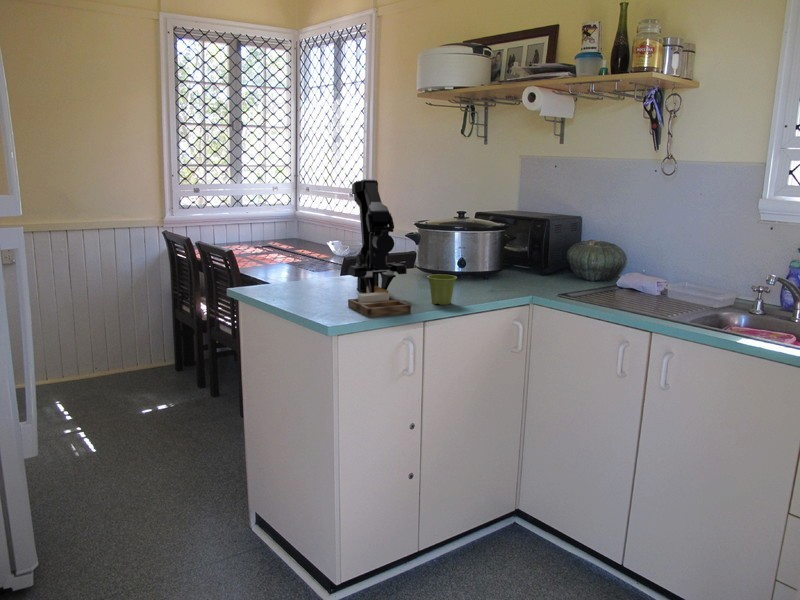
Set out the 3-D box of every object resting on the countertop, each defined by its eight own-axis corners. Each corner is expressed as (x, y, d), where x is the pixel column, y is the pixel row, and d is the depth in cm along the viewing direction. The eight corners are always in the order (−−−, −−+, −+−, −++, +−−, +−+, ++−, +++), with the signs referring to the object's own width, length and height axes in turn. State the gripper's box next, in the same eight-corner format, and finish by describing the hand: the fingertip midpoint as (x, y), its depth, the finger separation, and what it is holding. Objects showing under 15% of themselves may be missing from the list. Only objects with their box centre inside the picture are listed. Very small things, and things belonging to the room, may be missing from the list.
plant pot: (421, 301, 217) (422, 274, 215) (447, 299, 220) (448, 273, 219) (434, 307, 208) (435, 279, 207) (460, 305, 212) (462, 278, 210)
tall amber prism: (366, 297, 221) (366, 286, 220) (375, 296, 223) (376, 285, 222) (378, 302, 213) (378, 291, 212) (388, 301, 215) (388, 290, 214)
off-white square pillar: (362, 307, 202) (362, 296, 201) (357, 305, 205) (357, 293, 204) (388, 305, 206) (389, 294, 206) (383, 302, 209) (384, 291, 209)
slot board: (388, 303, 212) (388, 295, 212) (410, 312, 200) (410, 305, 199) (348, 306, 206) (348, 299, 205) (368, 317, 193) (368, 308, 193)
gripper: (392, 244, 226) (391, 289, 229) (341, 246, 217) (341, 293, 220) (408, 248, 216) (406, 295, 219) (355, 251, 207) (355, 300, 211)
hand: (377, 296), depth 218 cm, fingers closed on tall amber prism, 3 cm apart
